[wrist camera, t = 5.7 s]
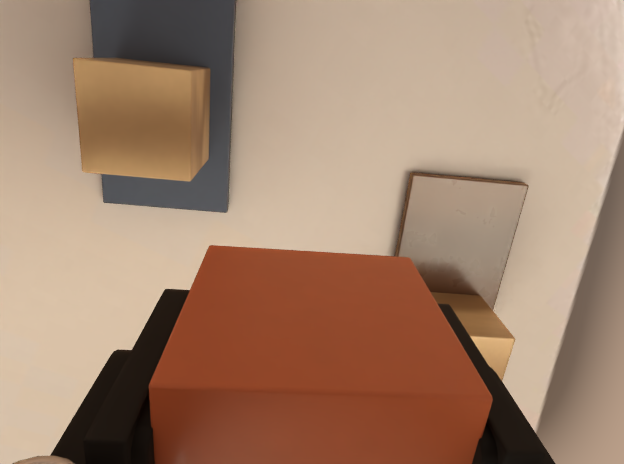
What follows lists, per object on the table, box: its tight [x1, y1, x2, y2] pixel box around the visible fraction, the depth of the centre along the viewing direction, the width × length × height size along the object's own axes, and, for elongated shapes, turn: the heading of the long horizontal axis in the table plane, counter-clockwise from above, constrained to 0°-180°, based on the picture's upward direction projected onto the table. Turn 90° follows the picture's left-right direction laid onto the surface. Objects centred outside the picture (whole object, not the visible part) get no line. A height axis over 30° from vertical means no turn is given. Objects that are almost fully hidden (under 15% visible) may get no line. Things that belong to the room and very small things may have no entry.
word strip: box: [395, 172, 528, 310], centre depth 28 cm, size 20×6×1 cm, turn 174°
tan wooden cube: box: [73, 58, 210, 181], centre depth 20 cm, size 4×4×4 cm
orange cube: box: [149, 245, 493, 464], centre depth 8 cm, size 4×4×4 cm
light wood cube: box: [431, 292, 515, 381], centre depth 25 cm, size 4×4×4 cm
